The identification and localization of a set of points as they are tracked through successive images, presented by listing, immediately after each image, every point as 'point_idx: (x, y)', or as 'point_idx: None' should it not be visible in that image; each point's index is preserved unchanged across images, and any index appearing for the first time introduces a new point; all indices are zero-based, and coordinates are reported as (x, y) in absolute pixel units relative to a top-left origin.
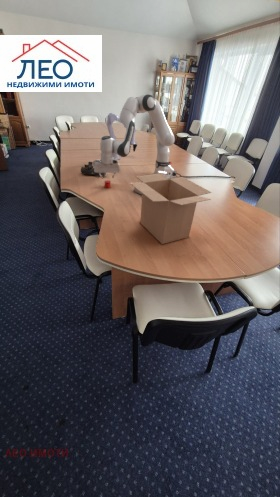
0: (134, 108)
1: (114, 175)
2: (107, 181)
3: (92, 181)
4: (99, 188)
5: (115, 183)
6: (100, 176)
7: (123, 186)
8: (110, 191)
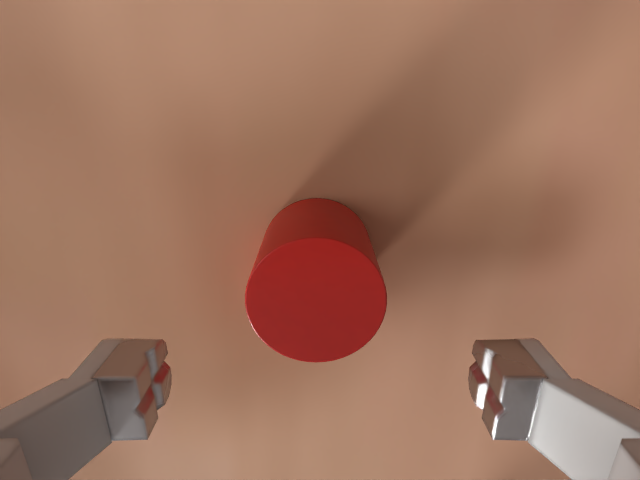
0: None
1: (39, 392)
2: (317, 302)
3: (531, 470)
4: (475, 194)
5: (178, 399)
6: (559, 367)
7: (26, 277)
8: (272, 21)
